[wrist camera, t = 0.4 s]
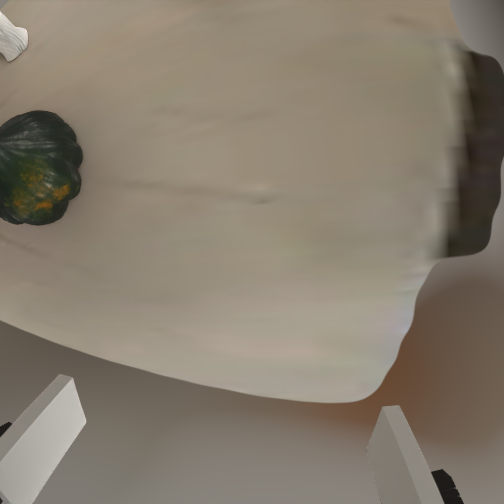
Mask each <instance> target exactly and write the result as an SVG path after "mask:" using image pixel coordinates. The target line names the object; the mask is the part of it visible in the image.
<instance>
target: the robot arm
mask: <svg viewBox="0 0 504 504" xmlns="http://www.w3.org/2000/svg"><path fill="white" fill-rule="evenodd" d="M85 424H86V418H85V416H84V413H83V410H82V407H81V404H80V400H79V397H78V394H77V391H76V387H75V384H74V381H73V378H72V377H68V376H65V375H61V374H59V375H58V376H57V377H56V378H55V379H54V381H53V382H52V383H51V384H50V385H49V386H48V387H47V388H46V389H45V390H44V391H43V392H42V393H41V394H40V395H39V396H38V397H37V398H36V399H35V400H34V401H33V403H32V404H31V405H30V406H29V407H28V408H27V409H26V410H25V411H24V412H23V413H22V414H21V415H20V416H19V418H18V419H17V420H16V421H15V422H14V423H13V424H12V423H10V422H8V423H6V424H4V425H2V426H1V427H0V504H1V503H2V501H3V502H4V503H5V504H32V503H33V502H34V500H35V498H36V497H37V495H38V494H39V492H40V490H41V489H42V488H43V486H44V484H45V483H46V481H47V480H48V478H49V477H50V475H51V473H52V472H53V471H54V469H55V468H56V466H57V465H58V463H59V462H60V460H61V459H62V457H63V456H64V454H65V453H66V451H67V450H68V448H69V447H70V445H71V444H72V443H73V441H74V440H75V438H76V437H77V435H78V433H79V432H80V431H81V429H82V428H83V427H84V425H85ZM366 452H367V455H368V458H369V462H370V465H371V469H372V472H373V476H374V479H375V483H376V486H377V490H378V494H379V497H380V501H381V504H464V503H463V501H462V499H461V497H460V494H459V492H458V490H457V489H456V486H455V484H454V482H453V480H452V478H451V476H449V475H448V474H447V473H446V472H445V471H444V470H443V469H441V470H437V471H433V472H430V469H429V467H428V465H427V463H426V461H425V458H424V456H423V454H422V452H421V450H420V448H419V446H418V443H417V441H416V439H415V437H414V435H413V433H412V431H411V429H410V427H409V425H408V423H407V421H406V418H405V416H404V414H403V412H402V410H401V408H400V406H399V405H397V406H387V407H382V410H381V412H380V415H379V418H378V421H377V424H376V426H375V429H374V431H373V434H372V436H371V439H370V442H369V444H368V446H367V449H366Z"/></svg>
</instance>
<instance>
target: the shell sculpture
mask: <svg viewBox="0 0 504 504" xmlns="http://www.w3.org/2000/svg"><path fill="white" fill-rule="evenodd" d="M17 46H18V47H19V46H20V47H21V48H20V47H19V48H20V49H19V48H18V47H17ZM27 46H28V33H27V31H26V29H25V28H20V27H15V26H14V25H13V24H12V23H11V22H10V21H9V20H8V18H7V17H6V16H4V15H3V14H2V13H1V12H0V53H2V54H3V55H4V56H5V58H6V60H7V61H8V62H10V61H11V60H13V59H15V58H16V57H18V56H19V55H20V54H21V52H22V50H23V51H25V50H24V49H26V48H27Z"/></svg>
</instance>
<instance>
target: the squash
mask: <svg viewBox="0 0 504 504" xmlns="http://www.w3.org/2000/svg"><path fill="white" fill-rule="evenodd" d="M82 157H83V155H82V150H81V148H80V146H79V145H78V144H77V143H76V136H75V133H74V131H73V130H72V128H71V127H70V126H69V125H68V124H66V123H65V122H64V121H63V120H62V119H61V118H60V117H59V116H58V115H56V114H55V113H52V112H48V111H39V110H37V111H31V112H27V113H24V114H22V115H17V116H15V117H13V118H11V119H10V120H8V121H7V122H6V123H4V124H3V125H2V126H1V127H0V217H1V218H2V219H3V220H5V221H8V222H10V223H12V224H17V225H18V224H23V223H27V224H31V225H45V224H50V223H53V222H55V221H57V220H59V219H60V218H61V217H62V216H63V215H64V213H65V211H66V208H67V205H68V201H69V200H71V199H73V198H74V197H76V196H77V195H78V193H79V191H80V186H81V179H80V175H79V173H78V171H77V168H78V167H79V165H80V164H81V162H82Z"/></svg>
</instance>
